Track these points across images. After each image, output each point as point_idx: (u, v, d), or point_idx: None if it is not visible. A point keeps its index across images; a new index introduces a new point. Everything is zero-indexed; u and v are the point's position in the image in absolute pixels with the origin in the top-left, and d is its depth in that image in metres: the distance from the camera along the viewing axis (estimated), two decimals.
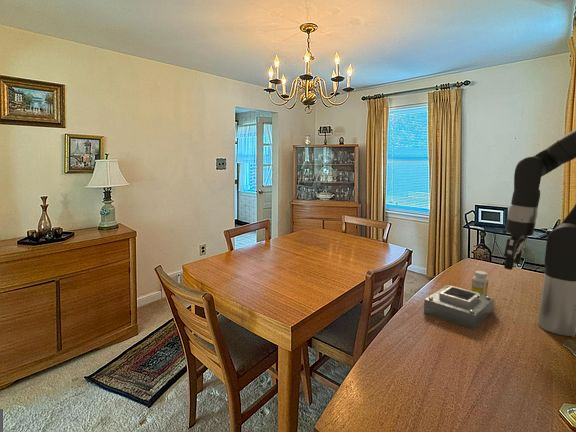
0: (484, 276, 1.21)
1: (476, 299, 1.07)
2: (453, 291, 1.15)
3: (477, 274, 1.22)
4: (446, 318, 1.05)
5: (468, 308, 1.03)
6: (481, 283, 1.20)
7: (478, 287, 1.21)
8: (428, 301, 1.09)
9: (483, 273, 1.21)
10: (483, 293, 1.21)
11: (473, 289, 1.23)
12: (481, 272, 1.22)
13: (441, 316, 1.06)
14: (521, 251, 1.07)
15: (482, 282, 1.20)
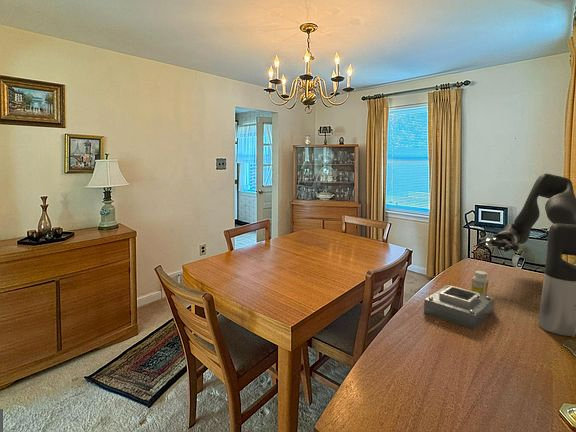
0: (484, 276, 1.21)
1: (476, 299, 1.07)
2: (453, 291, 1.15)
3: (477, 274, 1.22)
4: (446, 318, 1.05)
5: (468, 308, 1.03)
6: (481, 283, 1.20)
7: (478, 287, 1.21)
8: (428, 301, 1.09)
9: (483, 273, 1.21)
10: (483, 293, 1.21)
11: (473, 289, 1.23)
12: (481, 272, 1.22)
13: (441, 316, 1.06)
14: (507, 244, 1.29)
15: (482, 282, 1.20)
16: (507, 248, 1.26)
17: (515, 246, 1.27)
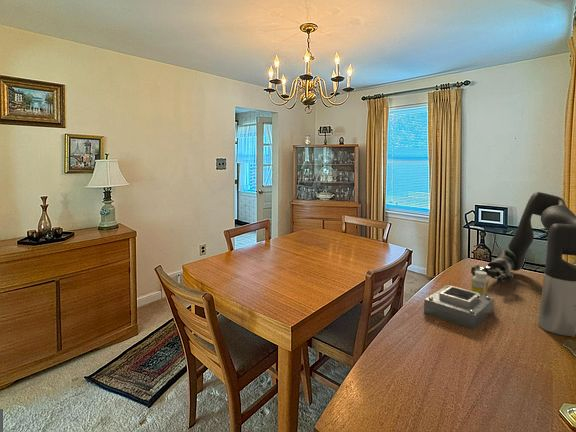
0: (484, 276, 1.21)
1: (476, 299, 1.07)
2: (453, 291, 1.15)
3: (477, 274, 1.22)
4: (446, 318, 1.05)
5: (468, 308, 1.03)
6: (481, 283, 1.20)
7: (478, 287, 1.21)
8: (428, 301, 1.09)
9: (483, 273, 1.21)
10: (483, 293, 1.21)
11: (473, 289, 1.23)
12: (481, 272, 1.22)
13: (441, 316, 1.06)
14: (500, 274, 1.27)
15: (482, 282, 1.20)
16: (500, 279, 1.24)
17: (508, 277, 1.25)
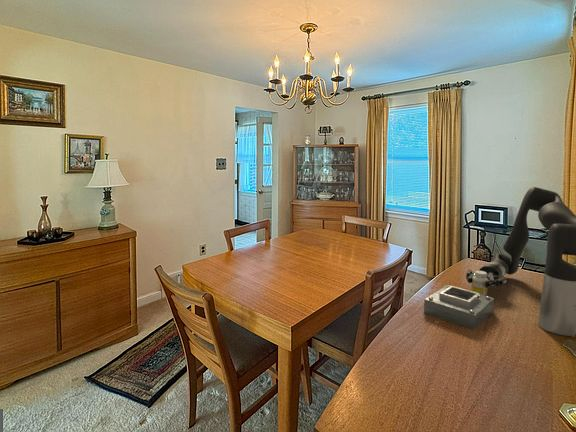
0: (484, 276, 1.21)
1: (476, 299, 1.07)
2: (453, 291, 1.15)
3: (477, 274, 1.22)
4: (446, 318, 1.05)
5: (468, 308, 1.03)
6: (480, 282, 1.20)
7: (478, 287, 1.21)
8: (428, 301, 1.09)
9: (483, 273, 1.21)
10: (483, 293, 1.21)
11: (473, 289, 1.23)
12: (481, 272, 1.22)
13: (441, 316, 1.06)
14: (489, 278, 1.22)
15: (481, 282, 1.20)
16: (488, 284, 1.19)
17: (497, 281, 1.20)
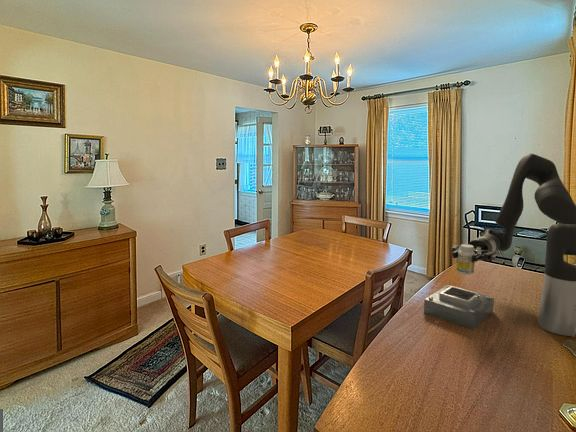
0: (470, 249, 1.07)
1: (476, 299, 1.07)
2: (453, 291, 1.15)
3: (463, 247, 1.09)
4: (446, 318, 1.05)
5: (468, 308, 1.03)
6: (466, 257, 1.07)
7: (463, 261, 1.08)
8: (428, 301, 1.09)
9: (469, 246, 1.08)
10: (469, 268, 1.08)
11: (458, 264, 1.10)
12: (467, 245, 1.09)
13: (441, 316, 1.06)
14: (477, 252, 1.09)
15: (468, 256, 1.07)
16: (475, 258, 1.06)
17: (484, 255, 1.07)
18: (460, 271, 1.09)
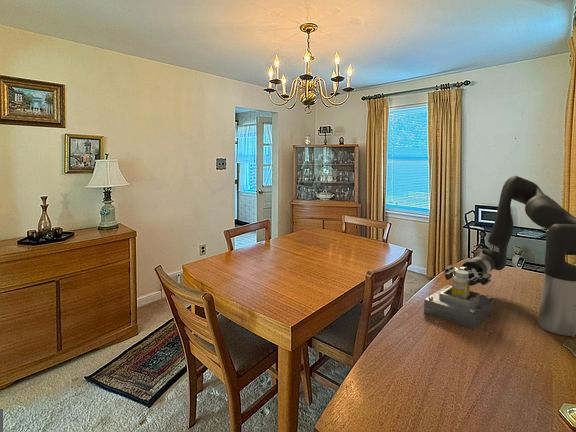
0: (465, 276, 1.07)
1: (476, 299, 1.07)
2: None
3: (458, 274, 1.08)
4: (446, 318, 1.05)
5: (468, 308, 1.03)
6: (461, 283, 1.07)
7: (458, 288, 1.07)
8: (428, 301, 1.09)
9: (464, 272, 1.07)
10: (464, 295, 1.07)
11: (453, 290, 1.09)
12: (462, 271, 1.08)
13: (441, 316, 1.06)
14: (474, 276, 1.08)
15: (462, 283, 1.06)
16: (473, 282, 1.04)
17: (482, 279, 1.06)
18: None
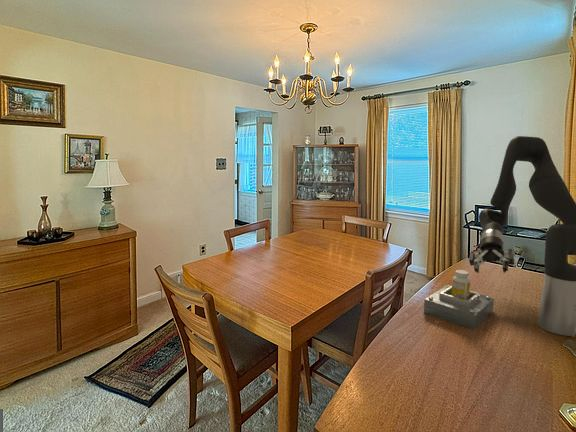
0: (465, 276, 1.07)
1: (476, 299, 1.07)
2: None
3: (457, 274, 1.08)
4: (446, 318, 1.05)
5: (468, 308, 1.03)
6: (461, 283, 1.07)
7: (458, 288, 1.07)
8: (428, 301, 1.09)
9: (464, 272, 1.07)
10: (464, 295, 1.07)
11: (453, 290, 1.09)
12: (462, 271, 1.08)
13: (441, 316, 1.06)
14: (502, 259, 1.16)
15: (462, 283, 1.06)
16: (506, 268, 1.13)
17: (511, 260, 1.14)
18: None
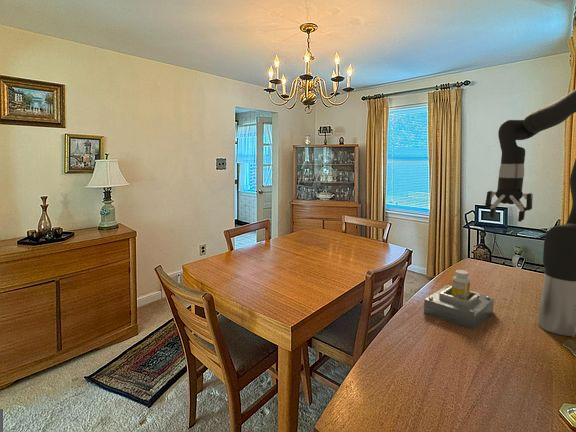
0: (465, 276, 1.07)
1: (476, 299, 1.07)
2: None
3: (457, 274, 1.08)
4: (446, 318, 1.05)
5: (468, 308, 1.03)
6: (461, 283, 1.07)
7: (458, 288, 1.07)
8: (428, 301, 1.09)
9: (464, 272, 1.07)
10: (464, 295, 1.07)
11: (453, 290, 1.09)
12: (462, 271, 1.08)
13: (441, 316, 1.06)
14: None
15: (462, 283, 1.06)
16: (521, 220, 1.15)
17: None
18: None
